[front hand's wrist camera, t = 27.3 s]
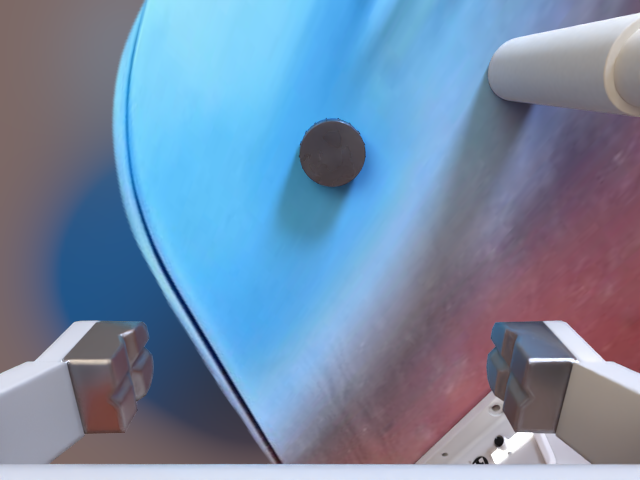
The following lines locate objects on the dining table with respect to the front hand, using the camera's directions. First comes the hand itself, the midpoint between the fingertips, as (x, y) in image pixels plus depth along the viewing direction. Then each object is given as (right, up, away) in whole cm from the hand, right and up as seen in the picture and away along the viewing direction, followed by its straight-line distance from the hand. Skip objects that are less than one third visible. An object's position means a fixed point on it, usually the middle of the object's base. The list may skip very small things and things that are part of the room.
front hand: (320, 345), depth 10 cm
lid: (+1, +9, +24) cm, 26 cm away
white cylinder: (+16, +16, +24) cm, 33 cm away
